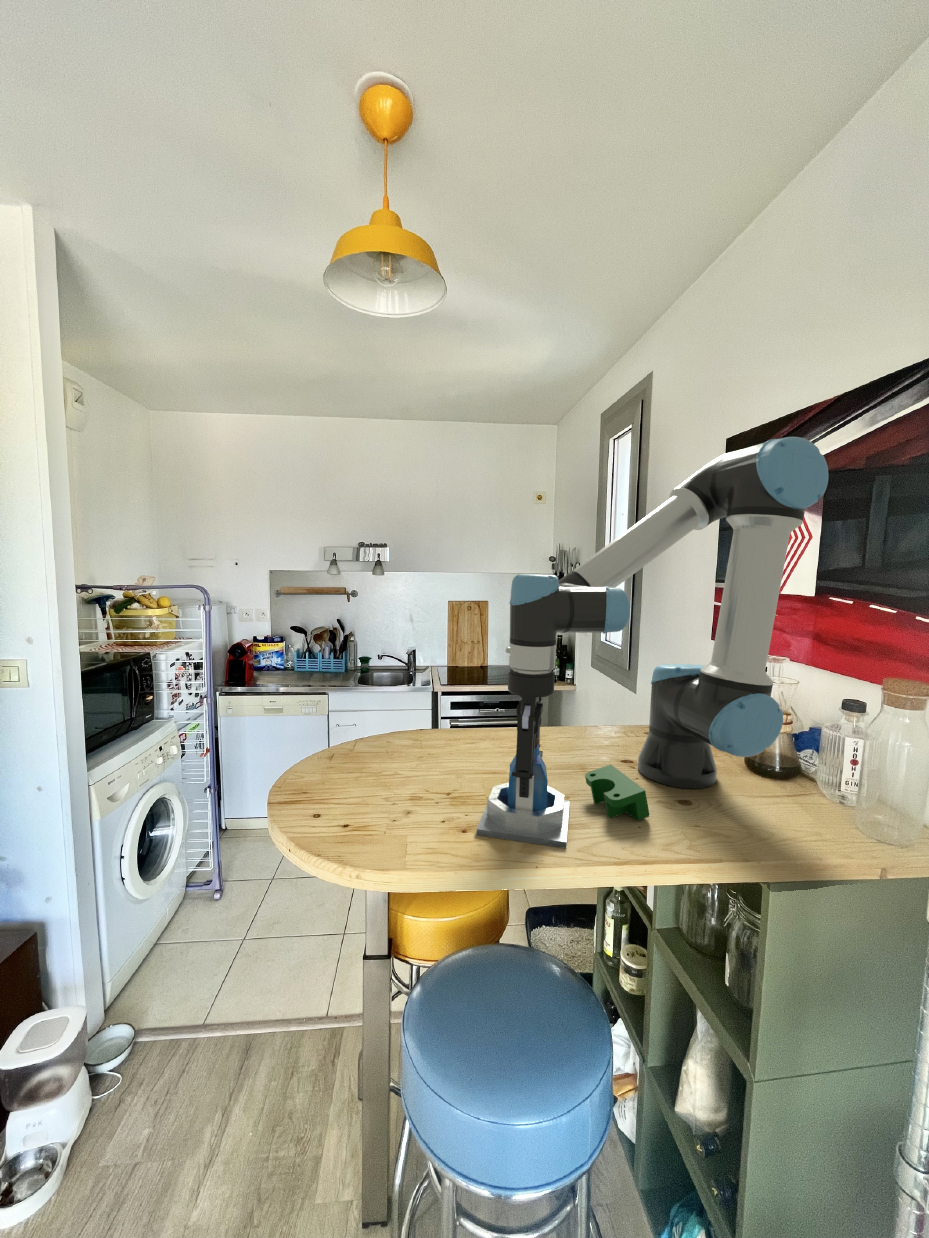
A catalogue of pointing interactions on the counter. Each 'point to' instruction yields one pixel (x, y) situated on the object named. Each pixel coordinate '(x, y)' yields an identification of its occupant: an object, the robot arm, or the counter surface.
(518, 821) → the flange
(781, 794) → the counter surface
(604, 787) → the clamp
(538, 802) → the perfume bottle
